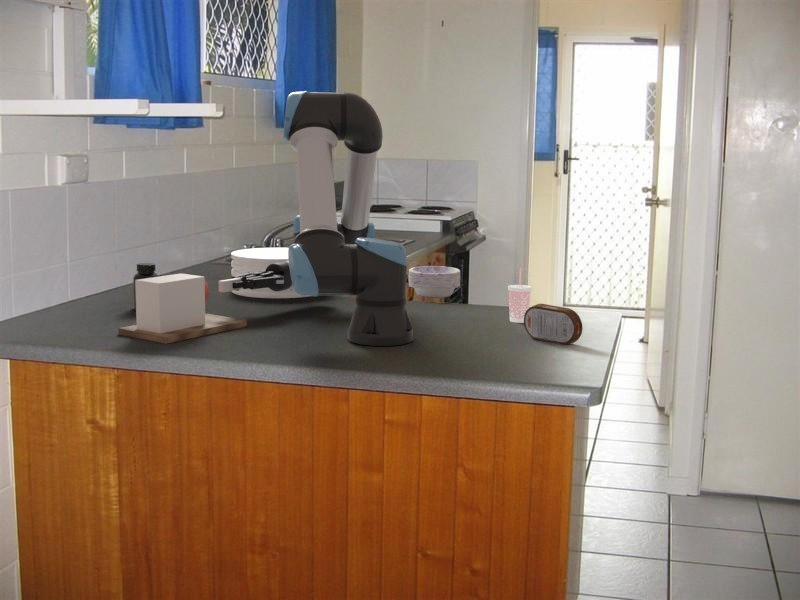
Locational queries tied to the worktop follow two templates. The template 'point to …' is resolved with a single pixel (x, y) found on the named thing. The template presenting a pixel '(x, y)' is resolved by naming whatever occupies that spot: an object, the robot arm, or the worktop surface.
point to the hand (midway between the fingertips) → (220, 286)
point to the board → (186, 330)
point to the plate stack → (257, 262)
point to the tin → (553, 324)
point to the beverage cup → (518, 301)
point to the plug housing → (170, 302)
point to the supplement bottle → (143, 276)
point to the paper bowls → (434, 280)
